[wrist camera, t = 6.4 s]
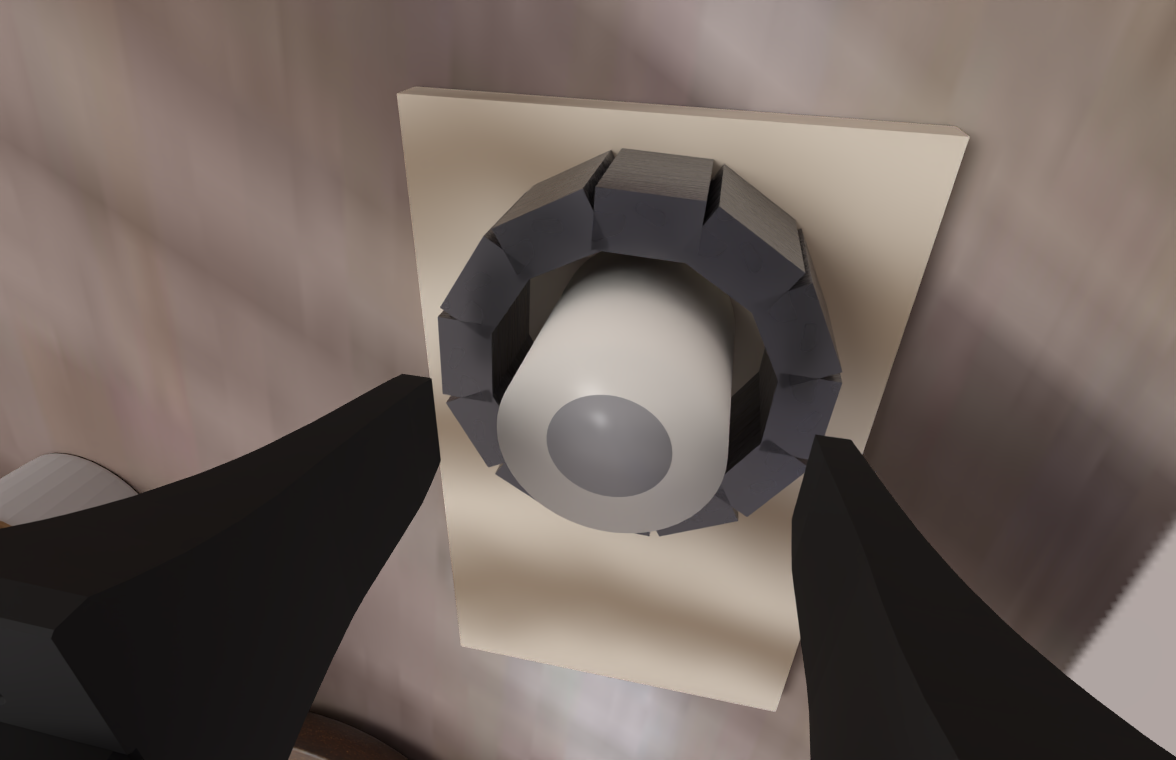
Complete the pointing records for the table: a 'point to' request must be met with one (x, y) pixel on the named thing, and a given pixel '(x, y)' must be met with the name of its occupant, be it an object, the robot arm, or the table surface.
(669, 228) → the dark grey segmented ring
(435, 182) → the mount plate
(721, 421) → the white cylinder
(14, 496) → the coffee cup
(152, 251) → the table surface
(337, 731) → the plant saucer
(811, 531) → the robot arm
